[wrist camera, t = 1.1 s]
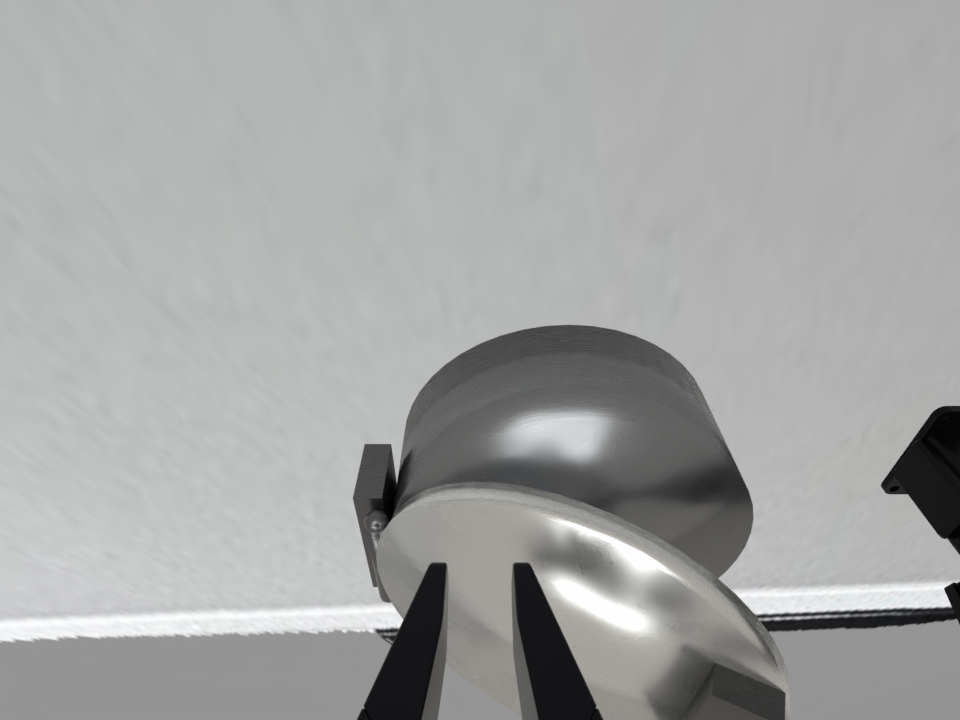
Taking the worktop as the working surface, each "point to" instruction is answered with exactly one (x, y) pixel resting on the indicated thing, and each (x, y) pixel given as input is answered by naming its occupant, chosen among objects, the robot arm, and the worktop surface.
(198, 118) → the worktop surface
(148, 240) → the worktop surface
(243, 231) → the worktop surface
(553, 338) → the pot
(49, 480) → the worktop surface
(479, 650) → the lid
